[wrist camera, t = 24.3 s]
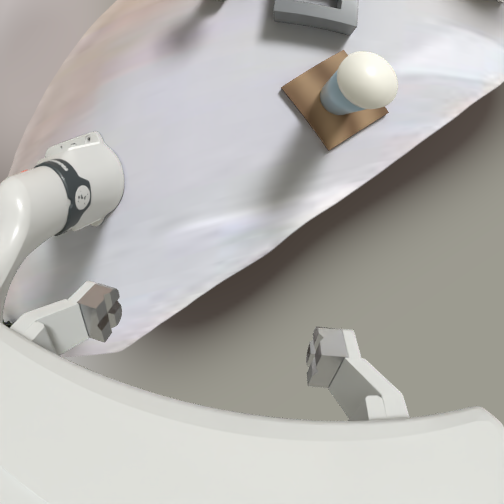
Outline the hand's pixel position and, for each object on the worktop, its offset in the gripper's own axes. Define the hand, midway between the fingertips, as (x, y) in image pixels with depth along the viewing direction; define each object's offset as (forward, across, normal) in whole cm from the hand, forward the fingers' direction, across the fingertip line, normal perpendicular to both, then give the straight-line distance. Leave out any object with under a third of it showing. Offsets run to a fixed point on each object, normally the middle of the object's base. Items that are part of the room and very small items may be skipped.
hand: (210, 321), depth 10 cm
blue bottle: (+34, -9, -14) cm, 38 cm away
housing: (+35, -4, -32) cm, 48 cm away
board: (+35, -9, -14) cm, 39 cm away
